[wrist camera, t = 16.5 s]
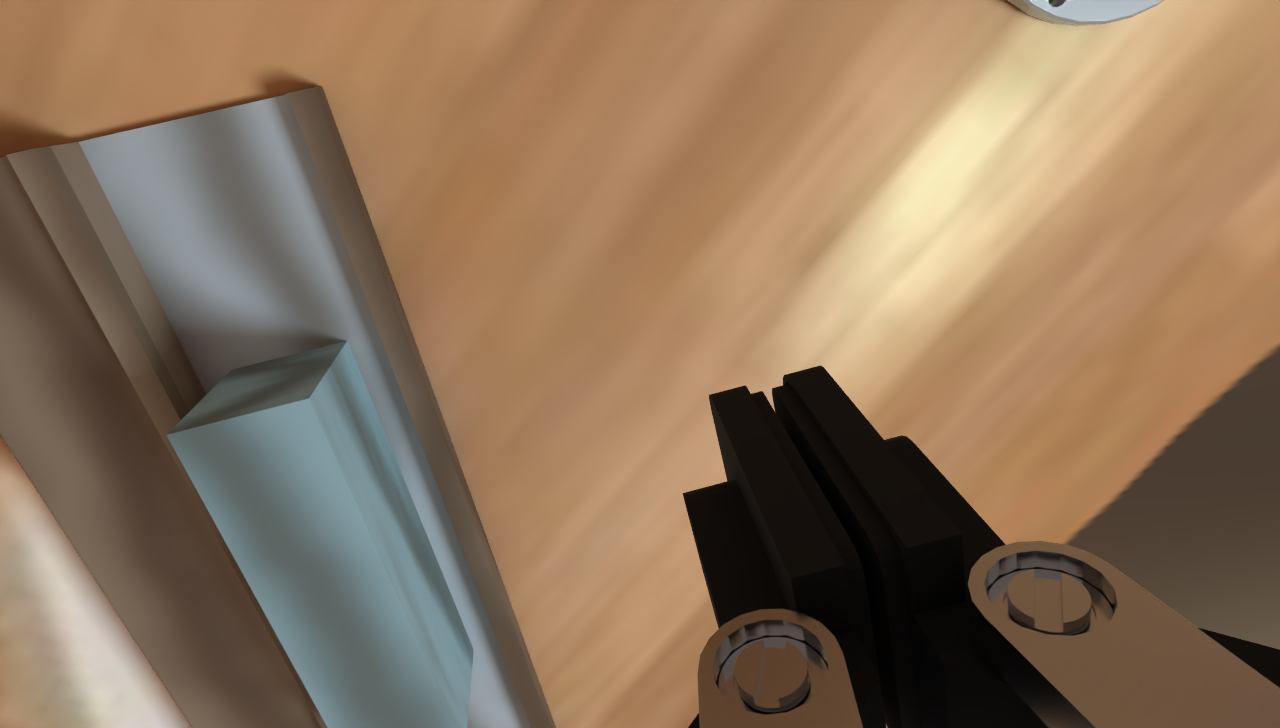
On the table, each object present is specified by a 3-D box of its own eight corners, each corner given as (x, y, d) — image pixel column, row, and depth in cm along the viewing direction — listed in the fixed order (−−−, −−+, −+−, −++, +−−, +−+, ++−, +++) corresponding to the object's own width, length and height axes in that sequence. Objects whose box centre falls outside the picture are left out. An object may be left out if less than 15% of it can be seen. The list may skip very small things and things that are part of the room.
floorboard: (322, 86, 27) (301, 87, 25) (568, 761, 42) (570, 805, 40) (-110, 184, 26) (-179, 196, 24) (298, 839, 41) (283, 889, 39)
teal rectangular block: (347, 340, 31) (308, 398, 25) (473, 649, 38) (465, 747, 32) (231, 370, 30) (166, 434, 25) (380, 676, 37) (355, 779, 32)
